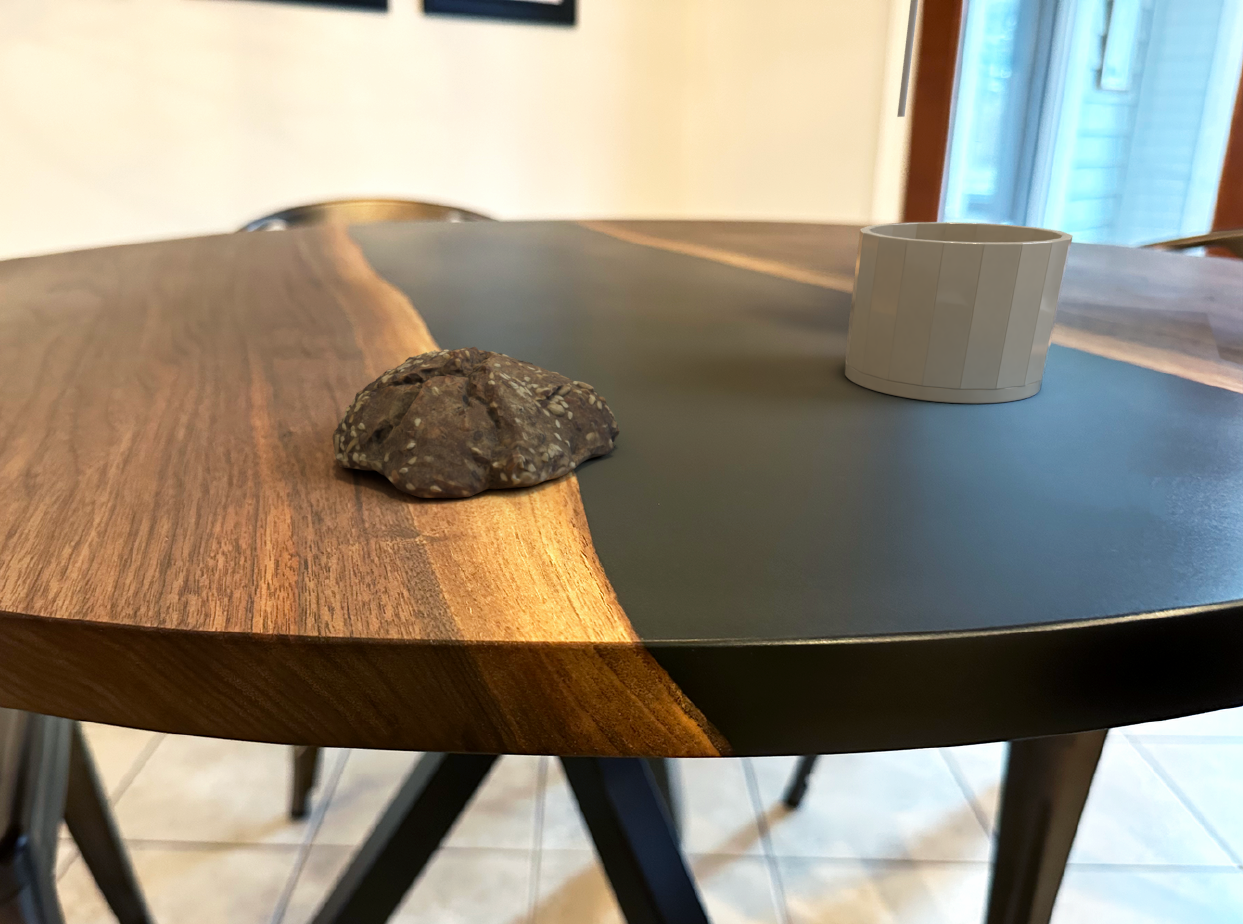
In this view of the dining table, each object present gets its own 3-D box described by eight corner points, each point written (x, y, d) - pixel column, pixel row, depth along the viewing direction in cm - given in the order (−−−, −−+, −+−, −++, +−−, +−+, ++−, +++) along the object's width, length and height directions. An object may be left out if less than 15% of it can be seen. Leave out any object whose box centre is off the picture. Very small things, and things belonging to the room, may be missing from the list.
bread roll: (443, 402, 53) (438, 312, 51) (644, 435, 47) (648, 335, 45) (275, 470, 42) (261, 362, 41) (506, 523, 37) (502, 399, 35)
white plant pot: (972, 353, 62) (995, 219, 59) (1084, 398, 52) (1119, 240, 49) (815, 360, 61) (829, 223, 58) (898, 408, 51) (921, 245, 48)
